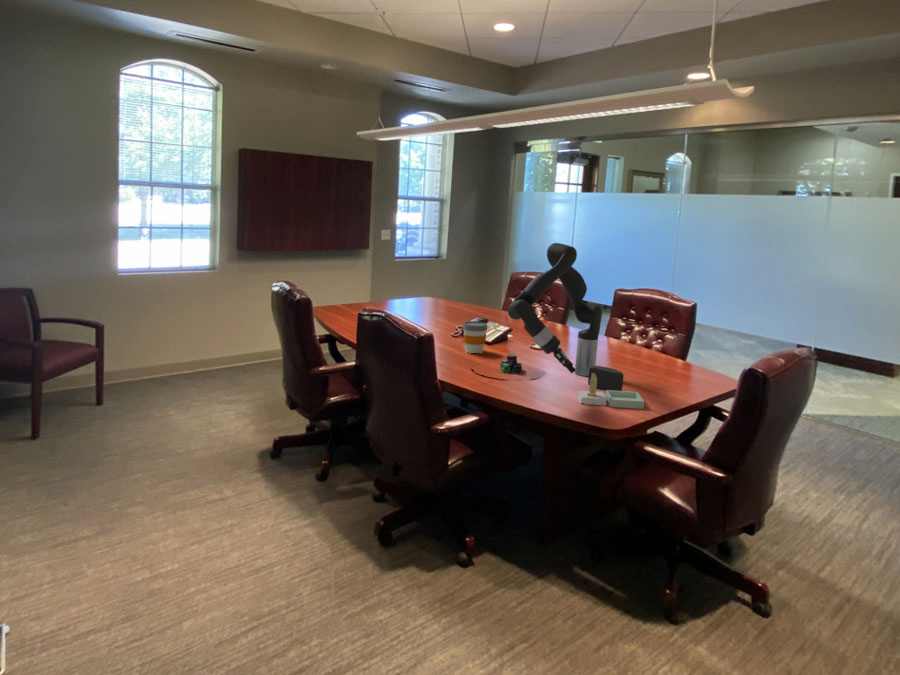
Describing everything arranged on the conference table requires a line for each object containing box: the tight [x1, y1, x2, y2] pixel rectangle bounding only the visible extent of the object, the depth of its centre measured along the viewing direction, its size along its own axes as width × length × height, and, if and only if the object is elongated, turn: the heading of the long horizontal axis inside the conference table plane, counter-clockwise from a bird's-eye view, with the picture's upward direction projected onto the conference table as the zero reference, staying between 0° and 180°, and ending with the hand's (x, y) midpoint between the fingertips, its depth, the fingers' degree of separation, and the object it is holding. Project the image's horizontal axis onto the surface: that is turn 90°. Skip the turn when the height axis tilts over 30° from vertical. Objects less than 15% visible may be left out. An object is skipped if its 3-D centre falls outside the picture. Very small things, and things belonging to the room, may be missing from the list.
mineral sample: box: [499, 353, 540, 381], centre depth 304 cm, size 35×35×9 cm
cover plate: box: [577, 390, 608, 406], centre depth 263 cm, size 10×10×2 cm
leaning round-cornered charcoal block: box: [587, 365, 624, 391], centre depth 280 cm, size 16×5×9 cm, turn 47°
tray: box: [604, 390, 645, 410], centre depth 263 cm, size 13×13×3 cm
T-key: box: [588, 373, 597, 396], centre depth 262 cm, size 5×2×11 cm, turn 177°
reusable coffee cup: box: [462, 320, 488, 354], centre depth 337 cm, size 13×13×15 cm
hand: (572, 369), depth 261 cm, fingers open, 8 cm apart
